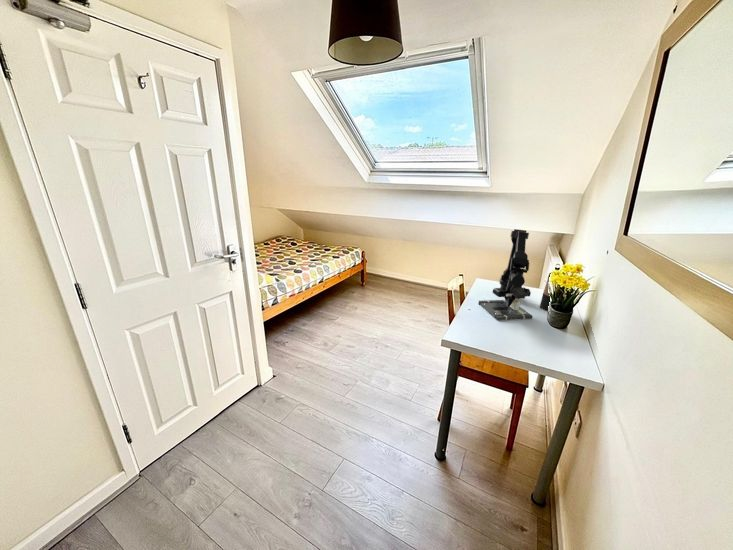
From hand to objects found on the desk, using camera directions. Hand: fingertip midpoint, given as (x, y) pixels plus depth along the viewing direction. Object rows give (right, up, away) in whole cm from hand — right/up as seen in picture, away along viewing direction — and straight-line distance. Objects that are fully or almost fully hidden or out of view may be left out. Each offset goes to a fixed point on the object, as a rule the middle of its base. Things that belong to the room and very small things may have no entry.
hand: (507, 306), depth 159 cm
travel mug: (+25, -2, +6) cm, 26 cm away
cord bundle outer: (0, -5, -7) cm, 9 cm away
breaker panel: (-2, -2, +1) cm, 3 cm away
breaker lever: (+4, -1, +1) cm, 4 cm away
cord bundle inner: (-3, +1, +8) cm, 9 cm away
